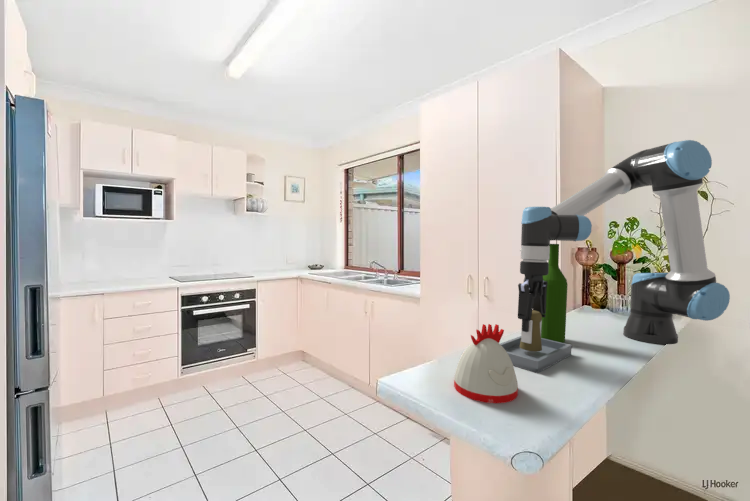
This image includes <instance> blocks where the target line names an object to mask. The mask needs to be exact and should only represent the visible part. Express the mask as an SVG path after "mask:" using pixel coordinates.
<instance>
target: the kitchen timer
mask: <svg viewBox="0 0 750 501" xmlns="http://www.w3.org/2000/svg"><path fill="white" fill-rule="evenodd" d="M499 326H500V325H499V324H495V325H494V327H493V326H492V324H490V323H488V325H486V324H482V327H481V331H480V329H476V330H475V331H476V336H477V338H475V336H474V335H472V334H470V338H471V343H470V344H468V346H466V348H465V349H464V351H463V352H462V354H461V356H460V358H459V360H458V363H457V365H456V368H455V373H454V377H453V378H454V379H453V387H454V389H455V391H456V392H457V393H458V394H460V395H461V396H463V397H464V398H468V399H470V400H473V401H476V402H481V403H485V404H505V403H509V402H513V401H514V400H516V399H517V397H518V396H519V394H518V393H519V384H518V380H517V375H516V370H515V366H513V364H512V361H511V359H510V357H509V355H508V353H507V352H506V350H505V349H504V348H503V347H502V346H501V345H500V342H501V339H502V338H503V336H504V331H505V329H503V328H501V329H499V328H500V327H499ZM493 328H494V329H493Z"/></svg>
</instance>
